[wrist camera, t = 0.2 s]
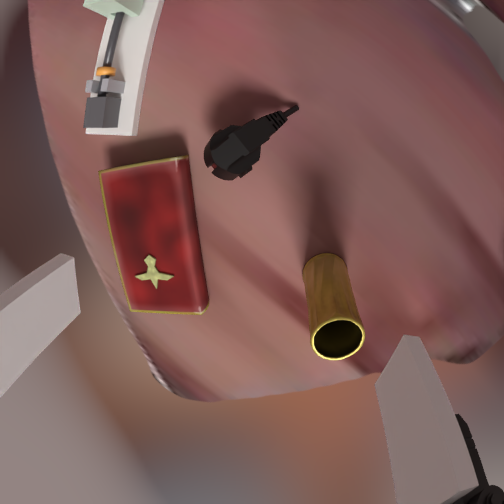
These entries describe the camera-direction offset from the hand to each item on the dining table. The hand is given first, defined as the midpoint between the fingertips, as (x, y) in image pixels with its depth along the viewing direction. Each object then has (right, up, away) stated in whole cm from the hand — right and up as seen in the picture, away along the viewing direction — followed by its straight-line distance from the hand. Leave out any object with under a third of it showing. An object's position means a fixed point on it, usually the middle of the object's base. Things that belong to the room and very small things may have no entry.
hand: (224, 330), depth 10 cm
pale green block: (-15, +35, +15) cm, 42 cm away
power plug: (+5, +20, +24) cm, 31 cm away
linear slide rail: (-16, +32, +19) cm, 41 cm away
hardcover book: (-12, +5, +30) cm, 33 cm away
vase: (+11, 0, +29) cm, 31 cm away
